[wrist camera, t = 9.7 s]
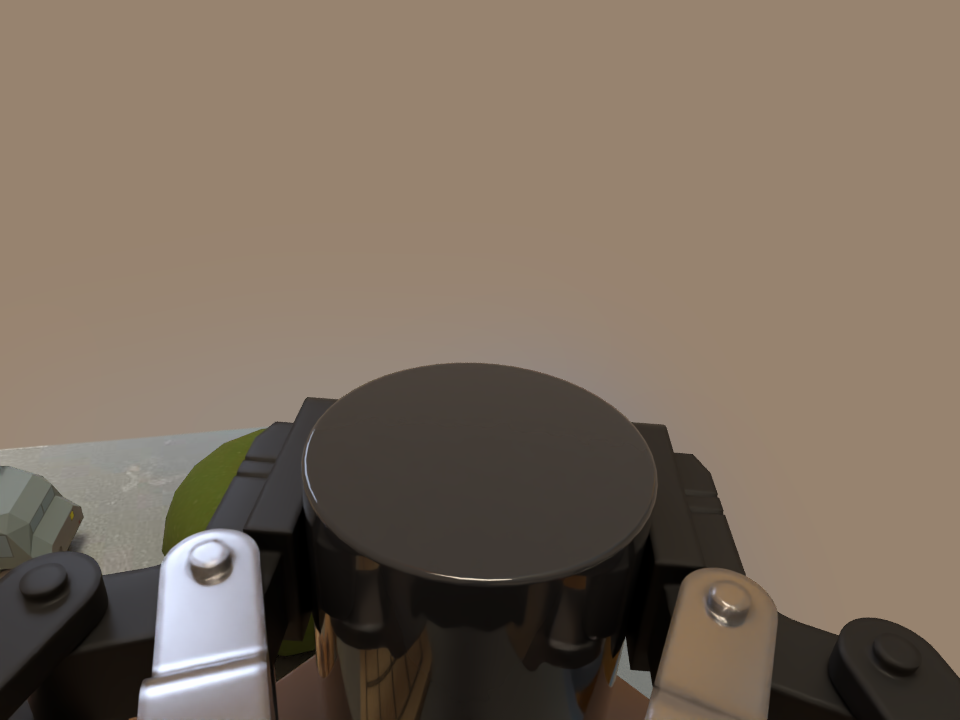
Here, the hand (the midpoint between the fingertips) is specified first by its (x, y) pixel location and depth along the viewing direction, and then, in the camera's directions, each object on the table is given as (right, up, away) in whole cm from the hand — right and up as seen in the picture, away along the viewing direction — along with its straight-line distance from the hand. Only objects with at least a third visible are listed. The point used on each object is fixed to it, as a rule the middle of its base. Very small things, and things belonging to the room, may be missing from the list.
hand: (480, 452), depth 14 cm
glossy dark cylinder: (-1, -7, +1) cm, 7 cm away
